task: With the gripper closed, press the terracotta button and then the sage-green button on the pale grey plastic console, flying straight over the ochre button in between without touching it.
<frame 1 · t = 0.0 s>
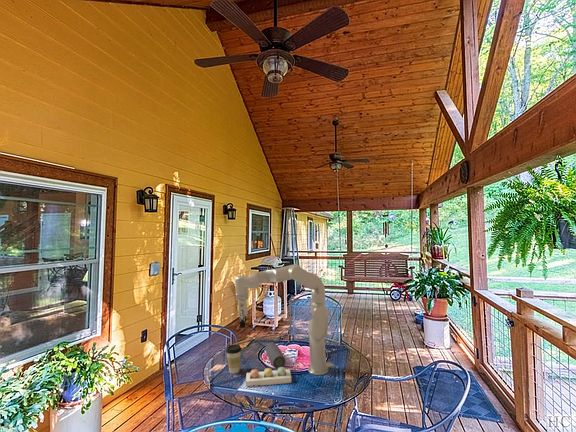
hand: (243, 324, 183), 31 cm above the table, fingers open, 9 cm apart
bluetooth speaker: (275, 363, 198), on the table
button sage: (281, 371, 178), point 5 cm above the table, slide at 0.0 cm
console: (268, 380, 177), on the table
button ochre: (268, 372, 177), point 5 cm above the table, slide at 0.0 cm
coffee cup: (234, 371, 189), on the table
button terracotta: (254, 373, 176), point 5 cm above the table, slide at 0.0 cm
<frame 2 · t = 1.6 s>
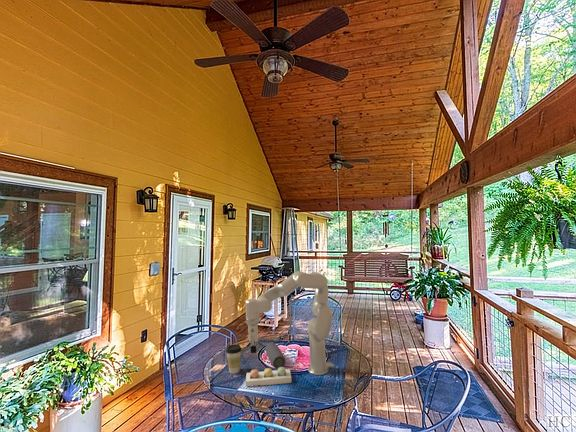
hand: (253, 352, 177), 17 cm above the table, fingers closed
nothing on the table moved.
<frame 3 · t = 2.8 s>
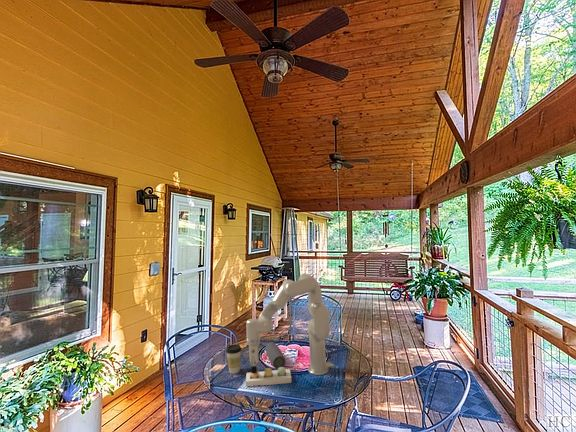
hand: (254, 372, 176), 5 cm above the table, fingers closed
button terracotta: (254, 375, 176), point 4 cm above the table, slide at 0.8 cm, touching gripper
everything else where it was.
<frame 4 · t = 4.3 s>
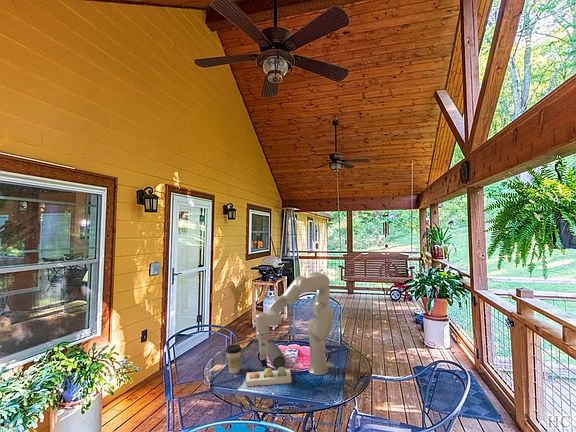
hand: (264, 365, 177), 9 cm above the table, fingers closed
button terracotta: (254, 377, 176), point 3 cm above the table, slide at 2.0 cm
everything else where it was.
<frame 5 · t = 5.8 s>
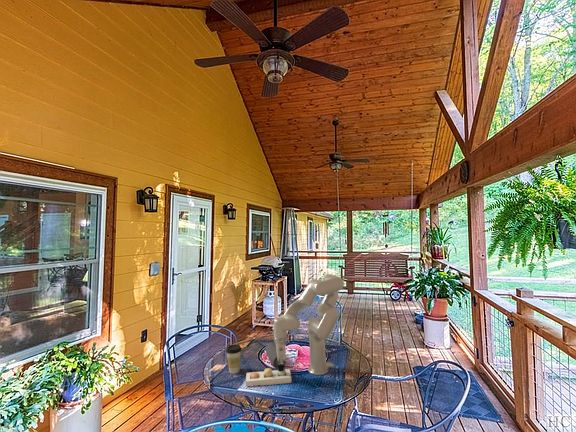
hand: (281, 370, 178), 5 cm above the table, fingers closed
button sage: (281, 373, 178), point 3 cm above the table, slide at 1.0 cm, touching gripper
everything else where it was.
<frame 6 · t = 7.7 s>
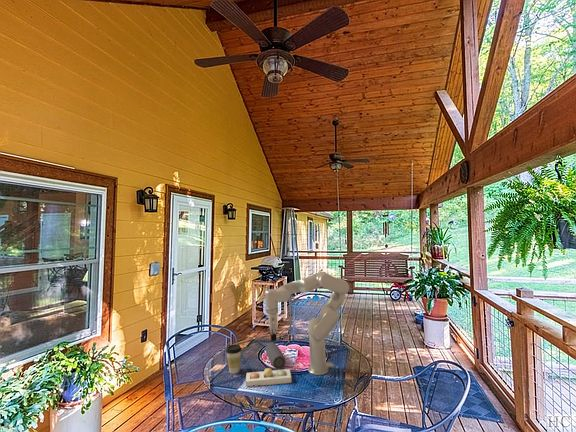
hand: (273, 340, 183), 21 cm above the table, fingers closed
button sage: (281, 374, 178), point 2 cm above the table, slide at 2.0 cm
everything else where it was.
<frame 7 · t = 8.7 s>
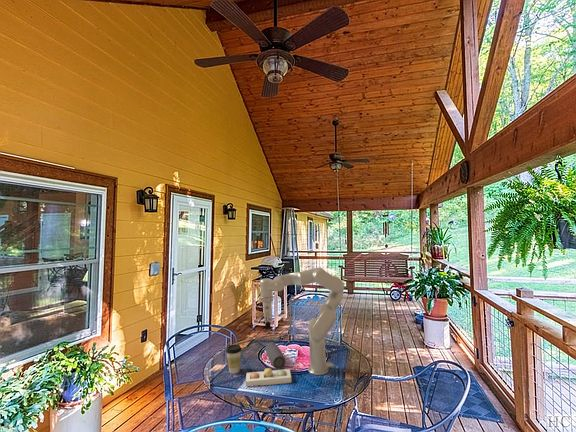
hand: (268, 328, 186), 27 cm above the table, fingers closed
nothing on the table moved.
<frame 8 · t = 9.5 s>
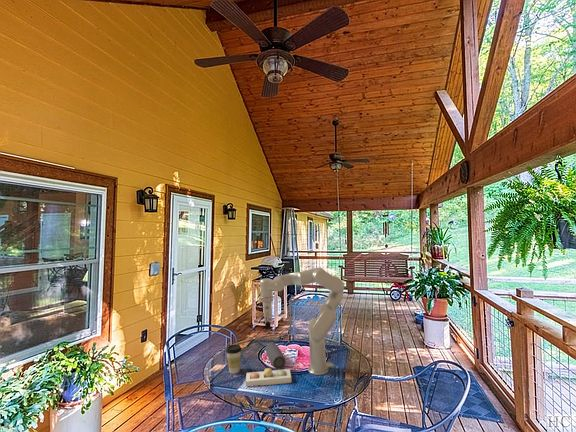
hand: (268, 328, 186), 27 cm above the table, fingers closed
nothing on the table moved.
at the end: button terracotta slide at 2.0 cm; button sage slide at 2.0 cm; button ochre slide at 0.0 cm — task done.
